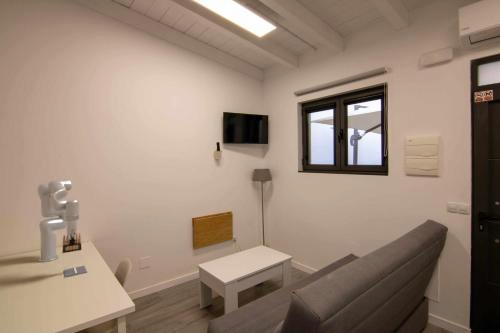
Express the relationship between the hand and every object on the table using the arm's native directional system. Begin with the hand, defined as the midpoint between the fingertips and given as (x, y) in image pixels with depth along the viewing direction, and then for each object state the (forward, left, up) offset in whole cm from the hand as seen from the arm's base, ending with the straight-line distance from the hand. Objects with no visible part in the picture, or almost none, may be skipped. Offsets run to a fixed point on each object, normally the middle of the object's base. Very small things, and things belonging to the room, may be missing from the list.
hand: (72, 244), depth 173 cm
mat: (0, +2, -19) cm, 19 cm away
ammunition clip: (0, 0, -5) cm, 5 cm away
